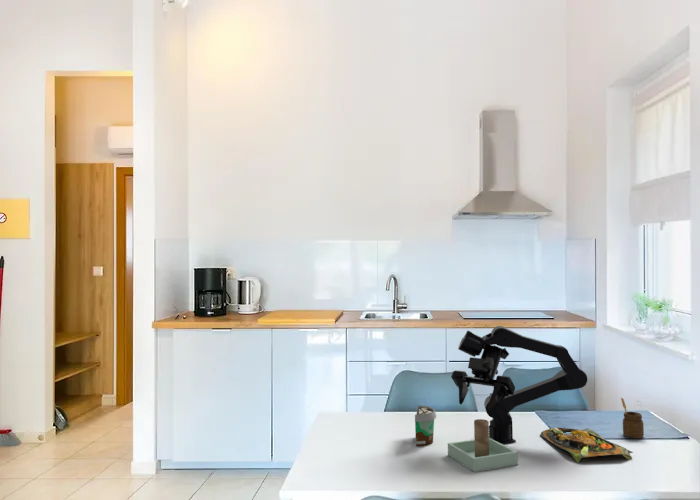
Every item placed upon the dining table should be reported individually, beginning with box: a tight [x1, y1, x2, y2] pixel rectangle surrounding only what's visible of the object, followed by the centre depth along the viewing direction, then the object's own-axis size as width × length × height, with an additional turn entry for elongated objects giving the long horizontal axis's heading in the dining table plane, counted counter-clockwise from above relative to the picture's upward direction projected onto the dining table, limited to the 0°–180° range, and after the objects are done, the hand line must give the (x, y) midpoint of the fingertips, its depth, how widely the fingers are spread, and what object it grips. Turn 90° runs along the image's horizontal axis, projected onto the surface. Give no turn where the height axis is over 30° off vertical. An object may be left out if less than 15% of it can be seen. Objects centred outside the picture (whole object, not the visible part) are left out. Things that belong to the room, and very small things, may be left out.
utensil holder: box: [620, 397, 645, 439], centre depth 176 cm, size 6×6×12 cm
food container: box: [414, 404, 437, 448], centre depth 174 cm, size 12×6×10 cm, turn 168°
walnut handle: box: [473, 418, 490, 458], centre depth 157 cm, size 4×4×10 cm
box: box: [447, 438, 519, 473], centre depth 157 cm, size 14×14×4 cm
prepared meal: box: [539, 427, 634, 464], centre depth 168 cm, size 28×4×18 cm
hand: (474, 405), depth 164 cm, fingers open, 9 cm apart
